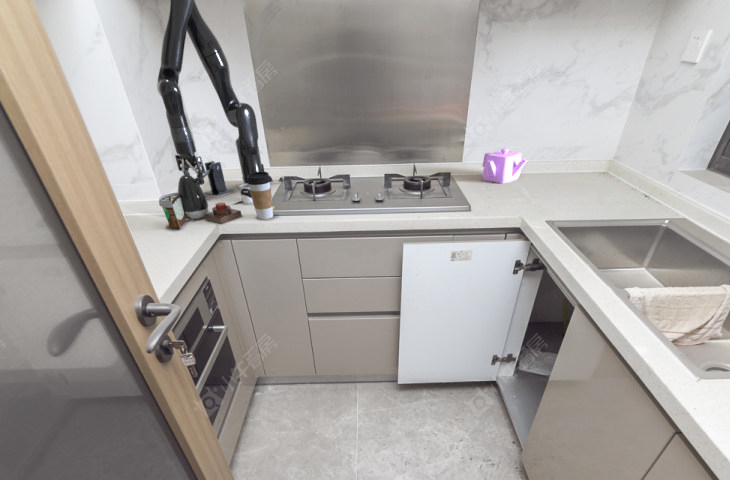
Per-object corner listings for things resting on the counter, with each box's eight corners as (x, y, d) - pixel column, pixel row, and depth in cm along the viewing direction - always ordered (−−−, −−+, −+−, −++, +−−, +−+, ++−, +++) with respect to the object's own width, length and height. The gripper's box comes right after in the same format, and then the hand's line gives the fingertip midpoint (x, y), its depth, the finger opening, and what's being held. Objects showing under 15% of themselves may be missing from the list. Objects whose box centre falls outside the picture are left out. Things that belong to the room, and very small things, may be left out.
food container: (172, 220, 161) (163, 192, 154) (188, 219, 161) (180, 191, 155) (161, 231, 151) (152, 202, 145) (179, 230, 151) (170, 201, 145)
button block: (226, 213, 165) (223, 202, 163) (242, 216, 161) (239, 205, 159) (205, 220, 159) (202, 209, 157) (221, 224, 155) (218, 213, 152)
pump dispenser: (202, 222, 158) (190, 178, 148) (178, 221, 160) (164, 177, 150) (216, 213, 165) (205, 171, 156) (192, 212, 167) (180, 171, 158)
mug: (240, 204, 174) (237, 187, 170) (245, 200, 179) (241, 183, 175) (264, 204, 173) (261, 187, 169) (268, 199, 178) (265, 182, 174)
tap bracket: (217, 198, 183) (209, 165, 175) (205, 195, 187) (196, 164, 179) (234, 192, 190) (227, 161, 182) (222, 190, 193) (215, 159, 185)
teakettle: (515, 174, 197) (519, 144, 190) (524, 183, 184) (530, 151, 176) (478, 175, 198) (481, 145, 190) (485, 184, 184) (489, 153, 177)
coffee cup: (280, 214, 162) (273, 171, 153) (269, 221, 156) (261, 177, 147) (261, 212, 164) (253, 170, 155) (249, 219, 158) (240, 176, 149)
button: (222, 206, 160) (220, 202, 159) (228, 208, 158) (227, 203, 157) (214, 209, 158) (213, 204, 157) (221, 210, 156) (219, 205, 155)
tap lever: (198, 187, 176) (195, 182, 174) (191, 186, 178) (188, 181, 176) (220, 168, 182) (218, 163, 180) (213, 167, 184) (210, 162, 182)
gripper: (202, 139, 166) (213, 182, 176) (179, 136, 173) (192, 179, 183) (186, 142, 161) (199, 187, 171) (163, 140, 168) (177, 183, 178)
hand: (195, 183), depth 177 cm, fingers open, 8 cm apart
